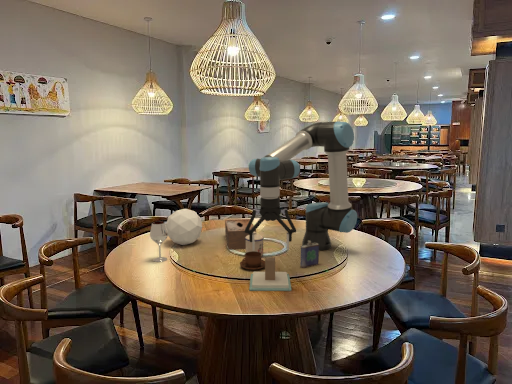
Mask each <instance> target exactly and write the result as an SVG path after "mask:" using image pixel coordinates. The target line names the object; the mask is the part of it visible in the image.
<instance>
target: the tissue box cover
mask: <svg viewBox="0 0 512 384" xmlns="http://www.w3.org/2000/svg"><path fill="white" fill-rule="evenodd" d="M249 220H250V218H245V219H243V218H242V219H241V218H239V219H238V218H237V219H224V225H225V227H224V229H225V231H224V232H225V241H226V243H227V247H228V250H231V251H232V250H246V239H245V237H246V236H248V235H249V234H248V233H245V229H246V227H247V224H248V222H249ZM254 225H255V224H253V223H252V224H251V226H250V228H249V230H251V229H252V227H253V226H254ZM254 232H256V233H257V229H256V230H255V231H254Z"/></svg>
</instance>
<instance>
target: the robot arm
mask: <svg viewBox="0 0 512 384" xmlns="http://www.w3.org/2000/svg"><path fill="white" fill-rule="evenodd" d="M354 141H355V132H354V129H353V127H352V126H351V125H350V123H349V122H348V121H340V120H339V121H317V122H315V123H312V124H310V125H308V126H306V127H304V128H302V129H300V130H299V131H297V132H296V134H295V136H293V137H292V138H290V139H289V140H287V141H286V142H284V143H283V144H281V145H280V146H278V147H277V148H275V149H274V150H272V151H271V152H269V153H268V154H266V155H264V156H263V157H261V158H253V159H252V160H250V162H249V164H248V171H249V173H250V174H251V175H252V176H254V177H259V183H260V184H259V185H260V186H259V191H260V195H259V196H260V201H259V202H260V208H259V209H256V208H253V209H252V212H251V216H250V218H249V219H250V220H249V222H248V224H247V227H246V229H245V233H248V234H249V241H250V242H252V247H253V251H254V250H255V240H254V233H253V232H254V231H255V230H256V231H257V229H258V227H259V226H260V225H261V224H262V223H263V222H264V221H266V222H270V221H272V222H275V221H277V222H278V223H279V224H280V225H281V226H282V227H283V229H285V231H286V250H287V251H289V250H290V243H291V242H292V241H293V240H292V239H293V238H292V237H293V234H294V233H297V228H296V226H295V225H294V222H293V221H292V218H291V217H290V215H289V211H288V210H289V209H288V208H286V207H285V208H284V209H281V202H280V201H281V200H280V196H281V193H280V190H281V188H280V187H281V186H280V181H284V180H285V181H286V180H291V179H294V178H296V177H298V176H299V175H300V172H301V166H300V163H299V162H298V161H296V160H294V159H293V158H295V157H296V156H297V155H299V154H300V153H302V152H303V151H305V150H306V151H307V150H309V149H311V148H313V147H315V148H316V147H321V148H323V149H324V150H323V151H324V153H326V154H327V161H328V163H327V165H328V180H329V196H330V197H329V200H330V202H327V201H325V202H323V201H322V202H320V201H319V202H313V203H308V204H307V205H306V208H305V231H304V235H303V239H302V242H301V246H304V245H308V244H307V243H308V242H307V241H308V240H310V241H311V243H318V244H319V251H327V250H329V249H331V248H332V241H331V238H330V234H329V231H333V232H339V233H346V234H347V233H350V232H352V231H353V230H354V228H355V226H356V224H357V221H358V213H357V211H356V210H355V209H353V206H352V203H351V202H350V201H349V188H348V187H349V185H348V184H349V181H348V164H347V162H348V159H347V153H348V152H349V151H350V147H352V146H353V144H354ZM258 214H259V215H260V218H259V219H258V220H257V222H255V224H253V222H254V220H255V218H256V216H258ZM281 214H282V215H284V216H285V218H286V220H287V222H288V223H289V226H290V227H289V226H288V225H287V224H286V223H285V221H284V220H283V219H282V218H281V217H280V215H281ZM251 224H253V225H254V226H253V227H252V229H251V230H249V228H250V226H251Z"/></svg>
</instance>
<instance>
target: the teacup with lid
mask: <svg viewBox="0 0 512 384" xmlns="http://www.w3.org/2000/svg"><path fill="white" fill-rule="evenodd" d="M253 233H254V240H255V250H254V251H255V252H260V253H261V257H263V255H264V235H261V234H259V233H257V231H256V232H253ZM245 239H246V249H245V253H247V252H252V251H253V247H252V242H250V241H249V235H248V236H246V237H245Z"/></svg>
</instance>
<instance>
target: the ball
mask: <svg viewBox="0 0 512 384" xmlns="http://www.w3.org/2000/svg"><path fill="white" fill-rule="evenodd" d="M165 225H166V228H167V231H168V236H167V237H169V239H170V240H171V241H172V242H173V243H175V244H178V245H180V246H186V245H190V244H193V243H194V242H196V241H197V240H198V239H199V238H200V237H201V233H202V229H203V223H202V219H201V217H200V216H199V214H197V212H196V211H194V210H191V209H188V208H183V209H179V210H178V209H177V210H175V211H174V212H173V213H171V214H170V215H169V216H168V217H167V220H166V222H165Z"/></svg>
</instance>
